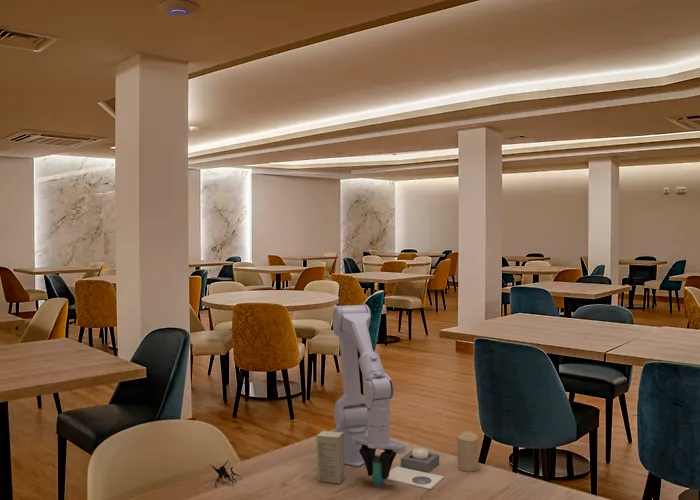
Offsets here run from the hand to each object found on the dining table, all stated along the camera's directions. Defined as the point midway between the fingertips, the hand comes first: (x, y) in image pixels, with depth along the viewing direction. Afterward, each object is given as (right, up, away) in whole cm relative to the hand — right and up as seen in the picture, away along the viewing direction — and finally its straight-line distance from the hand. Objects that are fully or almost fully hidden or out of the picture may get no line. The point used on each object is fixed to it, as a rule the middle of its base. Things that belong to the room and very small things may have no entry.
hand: (378, 476), depth 161 cm
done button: (+12, 0, +13) cm, 17 cm away
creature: (-39, -2, +1) cm, 39 cm away
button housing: (+12, -2, +13) cm, 18 cm away
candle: (+25, -2, +11) cm, 27 cm away
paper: (+9, -2, +4) cm, 10 cm away
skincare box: (-12, -2, +3) cm, 13 cm away
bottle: (0, -2, 0) cm, 2 cm away
